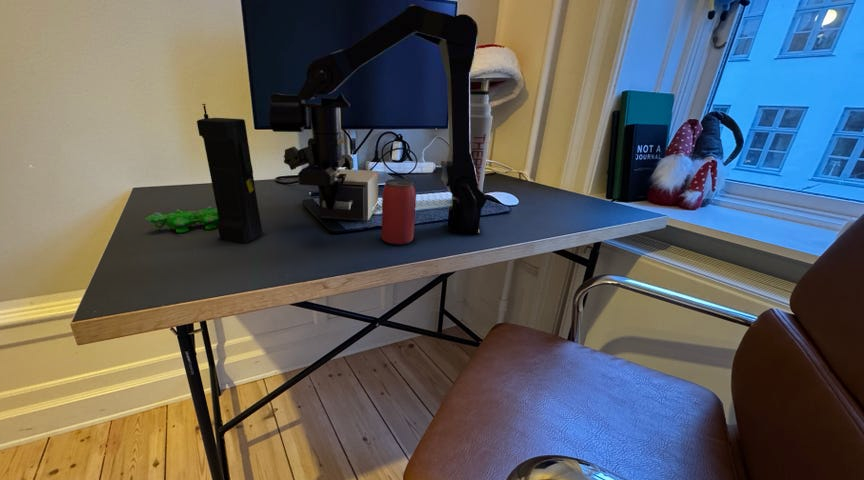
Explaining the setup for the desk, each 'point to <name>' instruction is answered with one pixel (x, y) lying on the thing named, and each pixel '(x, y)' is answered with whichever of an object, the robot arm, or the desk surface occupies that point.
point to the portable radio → (231, 177)
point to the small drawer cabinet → (370, 187)
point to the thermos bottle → (479, 132)
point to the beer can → (398, 211)
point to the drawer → (346, 203)
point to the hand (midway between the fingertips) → (330, 209)
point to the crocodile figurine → (185, 219)
